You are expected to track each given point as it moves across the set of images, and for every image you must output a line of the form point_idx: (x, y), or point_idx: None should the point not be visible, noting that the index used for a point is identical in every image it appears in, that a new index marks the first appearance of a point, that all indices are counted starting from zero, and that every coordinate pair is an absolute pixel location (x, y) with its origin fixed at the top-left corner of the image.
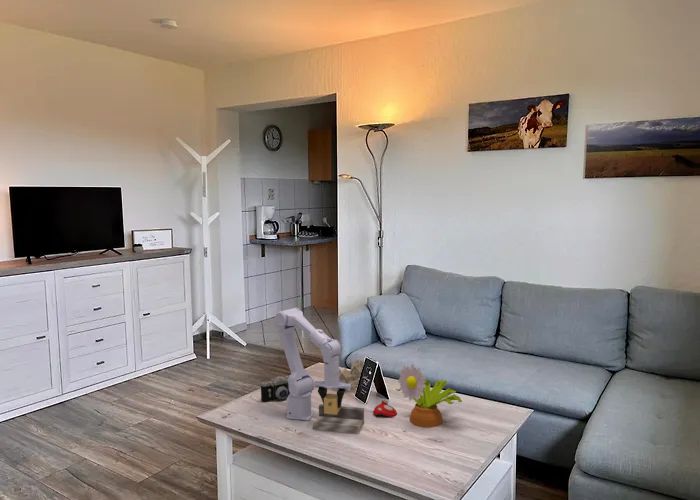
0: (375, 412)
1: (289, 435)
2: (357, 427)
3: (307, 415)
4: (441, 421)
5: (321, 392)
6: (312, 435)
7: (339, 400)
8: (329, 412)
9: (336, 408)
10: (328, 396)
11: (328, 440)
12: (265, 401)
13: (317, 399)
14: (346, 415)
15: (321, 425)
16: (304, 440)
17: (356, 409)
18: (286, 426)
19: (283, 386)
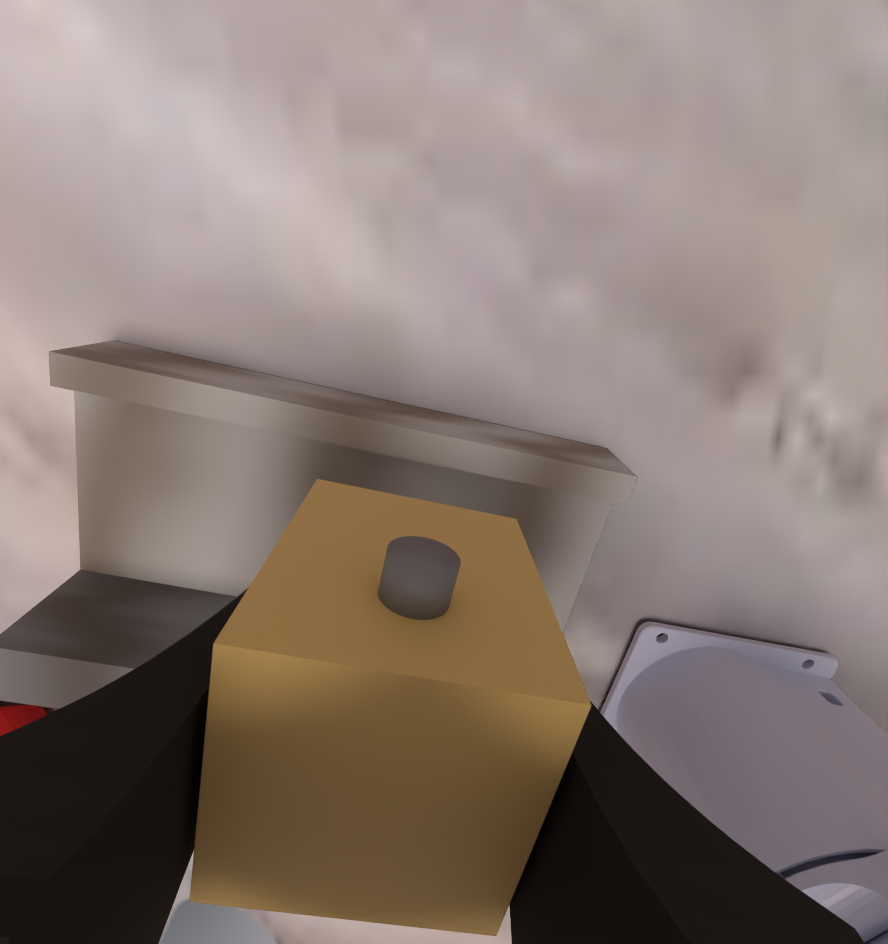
0: (10, 727)
1: (857, 316)
2: (70, 352)
3: (660, 676)
4: None
5: (742, 920)
6: (612, 314)
7: (170, 666)
8: (433, 512)
9: (292, 523)
10: (464, 805)
11: (430, 179)
12: None
13: None
14: None
15: (526, 445)
16: (708, 183)
17: (80, 663)
18: (854, 513)
19: None
